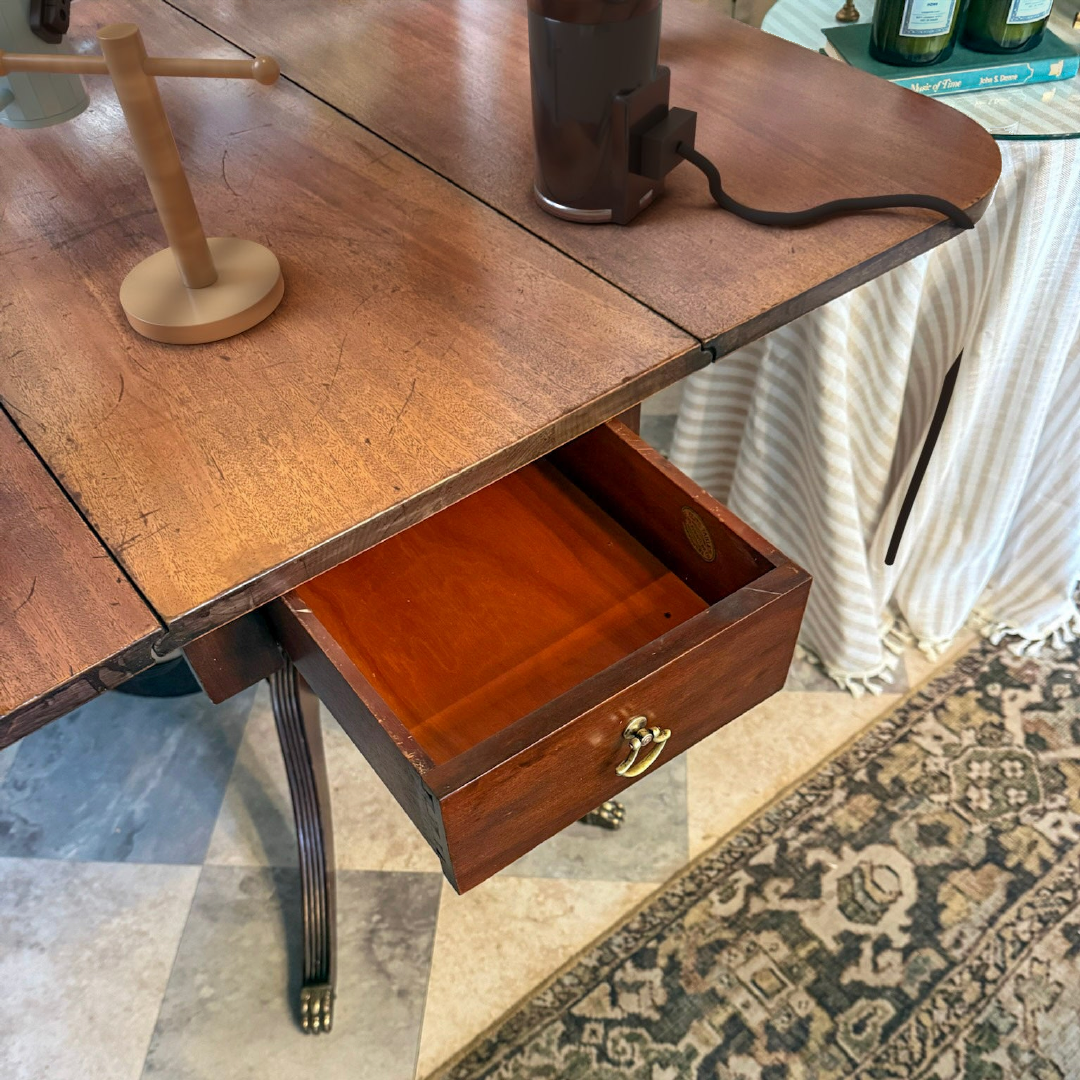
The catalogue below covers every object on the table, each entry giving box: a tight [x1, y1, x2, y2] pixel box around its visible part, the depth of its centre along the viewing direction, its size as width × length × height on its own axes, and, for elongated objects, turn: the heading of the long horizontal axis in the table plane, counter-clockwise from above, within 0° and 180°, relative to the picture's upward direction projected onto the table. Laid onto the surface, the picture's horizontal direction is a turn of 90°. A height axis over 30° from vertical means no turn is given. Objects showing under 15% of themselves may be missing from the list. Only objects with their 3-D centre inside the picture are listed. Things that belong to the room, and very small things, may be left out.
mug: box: [0, 0, 91, 130], centre depth 62 cm, size 10×6×9 cm, turn 171°
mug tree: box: [0, 22, 285, 345], centre depth 64 cm, size 19×11×18 cm, turn 81°
